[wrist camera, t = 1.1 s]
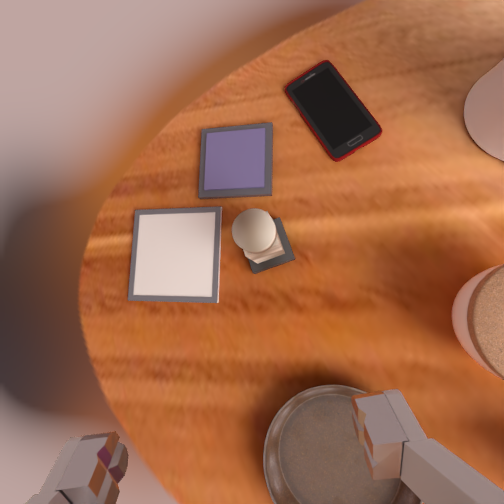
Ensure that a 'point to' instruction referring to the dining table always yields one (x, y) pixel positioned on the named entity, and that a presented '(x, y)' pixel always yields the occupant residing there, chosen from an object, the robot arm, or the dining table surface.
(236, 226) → the stamp
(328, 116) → the cell phone
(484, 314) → the lidded bowl
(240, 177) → the ink pad
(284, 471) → the plant saucer
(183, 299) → the marked square
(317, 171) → the dining table surface
